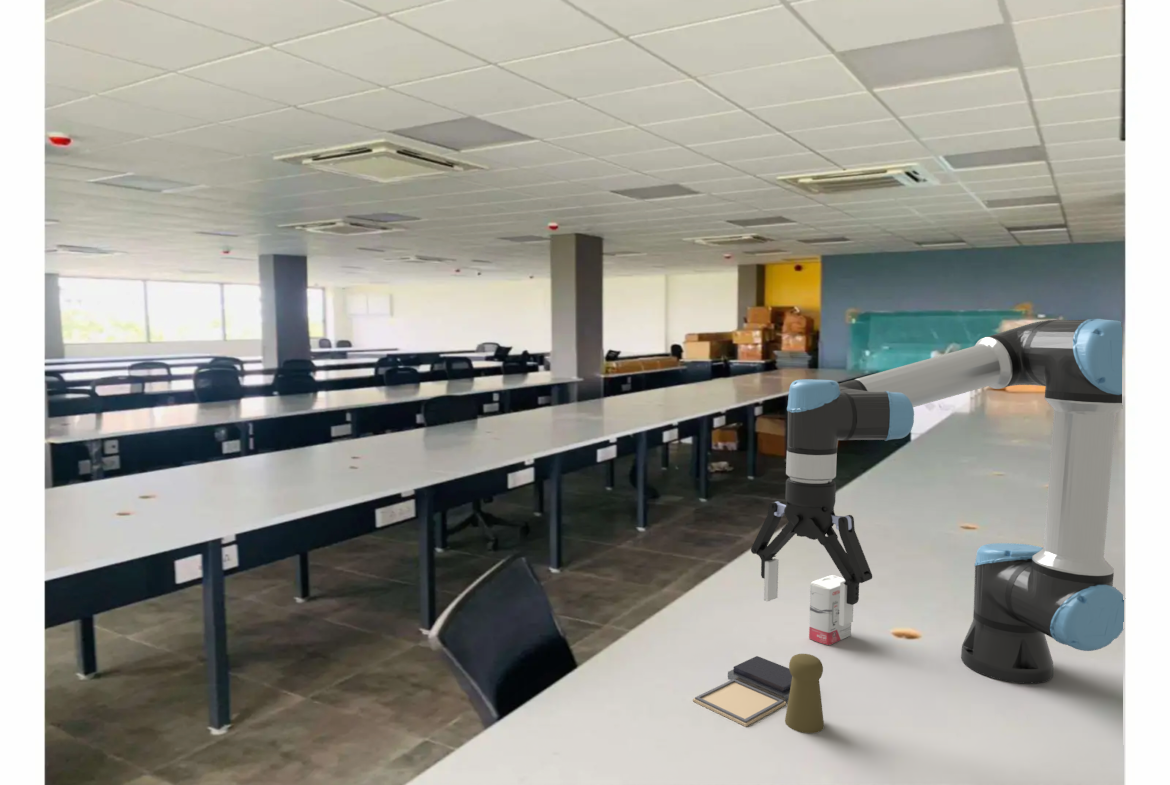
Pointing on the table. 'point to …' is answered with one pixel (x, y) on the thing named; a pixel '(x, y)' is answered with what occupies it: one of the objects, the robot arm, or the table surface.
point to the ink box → (826, 611)
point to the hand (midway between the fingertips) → (806, 610)
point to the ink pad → (764, 676)
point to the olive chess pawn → (805, 695)
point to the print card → (739, 702)
